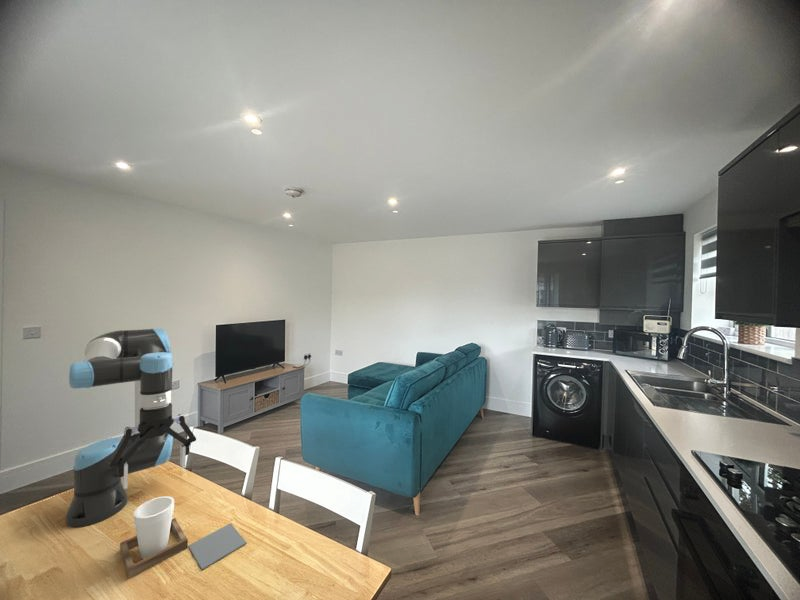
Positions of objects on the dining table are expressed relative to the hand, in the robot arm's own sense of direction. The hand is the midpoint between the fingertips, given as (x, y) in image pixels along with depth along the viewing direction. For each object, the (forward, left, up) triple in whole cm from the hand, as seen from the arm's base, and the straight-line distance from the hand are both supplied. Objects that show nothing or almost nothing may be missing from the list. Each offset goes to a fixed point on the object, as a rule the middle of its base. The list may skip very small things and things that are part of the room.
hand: (155, 475), depth 90 cm
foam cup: (0, 0, -23) cm, 23 cm away
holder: (0, 0, -22) cm, 22 cm away
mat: (+12, +13, -22) cm, 29 cm away
